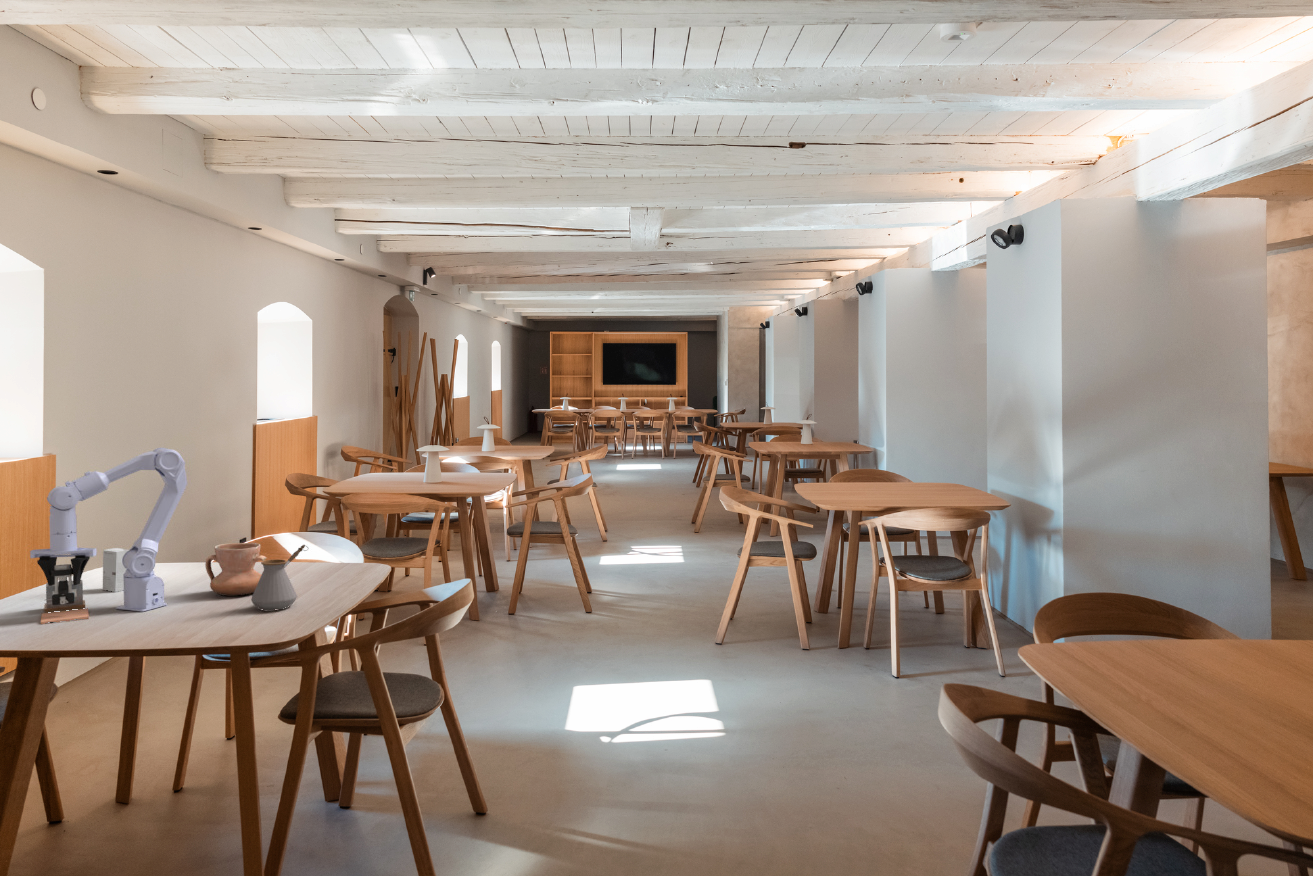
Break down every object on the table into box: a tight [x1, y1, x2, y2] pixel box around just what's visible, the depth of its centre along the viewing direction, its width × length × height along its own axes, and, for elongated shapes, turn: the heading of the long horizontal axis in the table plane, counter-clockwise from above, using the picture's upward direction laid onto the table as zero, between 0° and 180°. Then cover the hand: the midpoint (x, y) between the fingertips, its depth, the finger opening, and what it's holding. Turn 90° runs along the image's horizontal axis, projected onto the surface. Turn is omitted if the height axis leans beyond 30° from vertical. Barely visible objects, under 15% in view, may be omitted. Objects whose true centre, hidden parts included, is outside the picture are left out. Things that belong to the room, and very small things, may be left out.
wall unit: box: [43, 579, 86, 613], centre depth 226 cm, size 6×9×7 cm, turn 125°
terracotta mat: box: [40, 607, 90, 625], centre depth 218 cm, size 10×10×1 cm
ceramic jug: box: [204, 542, 267, 597], centre depth 247 cm, size 18×14×14 cm
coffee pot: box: [250, 544, 309, 610], centre depth 235 cm, size 21×12×15 cm, turn 172°
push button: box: [44, 563, 75, 605], centre depth 217 cm, size 7×5×10 cm
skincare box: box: [102, 547, 130, 593], centre depth 249 cm, size 6×4×12 cm
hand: (64, 584), depth 218 cm, fingers closed on push button, 5 cm apart
